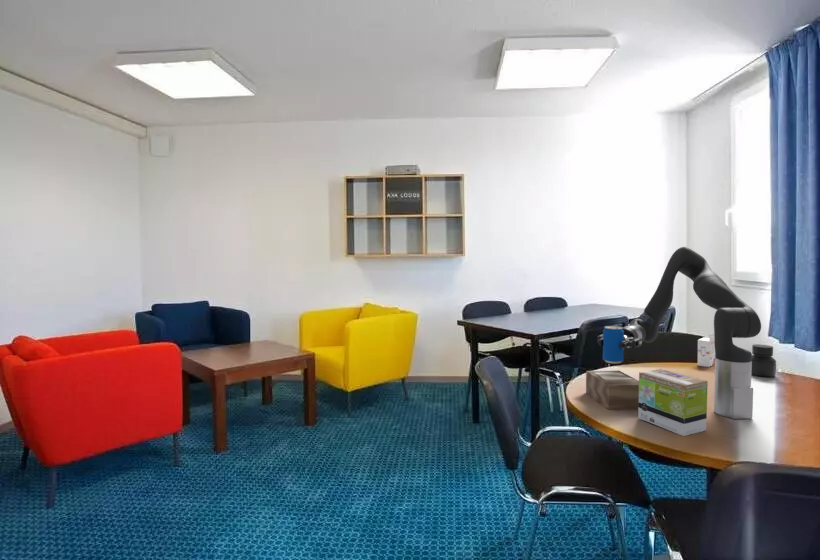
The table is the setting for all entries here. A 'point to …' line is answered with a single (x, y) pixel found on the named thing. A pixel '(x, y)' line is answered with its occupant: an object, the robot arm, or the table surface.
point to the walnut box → (613, 389)
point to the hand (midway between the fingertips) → (610, 344)
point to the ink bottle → (763, 361)
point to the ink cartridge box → (706, 351)
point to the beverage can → (613, 344)
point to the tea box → (673, 401)
